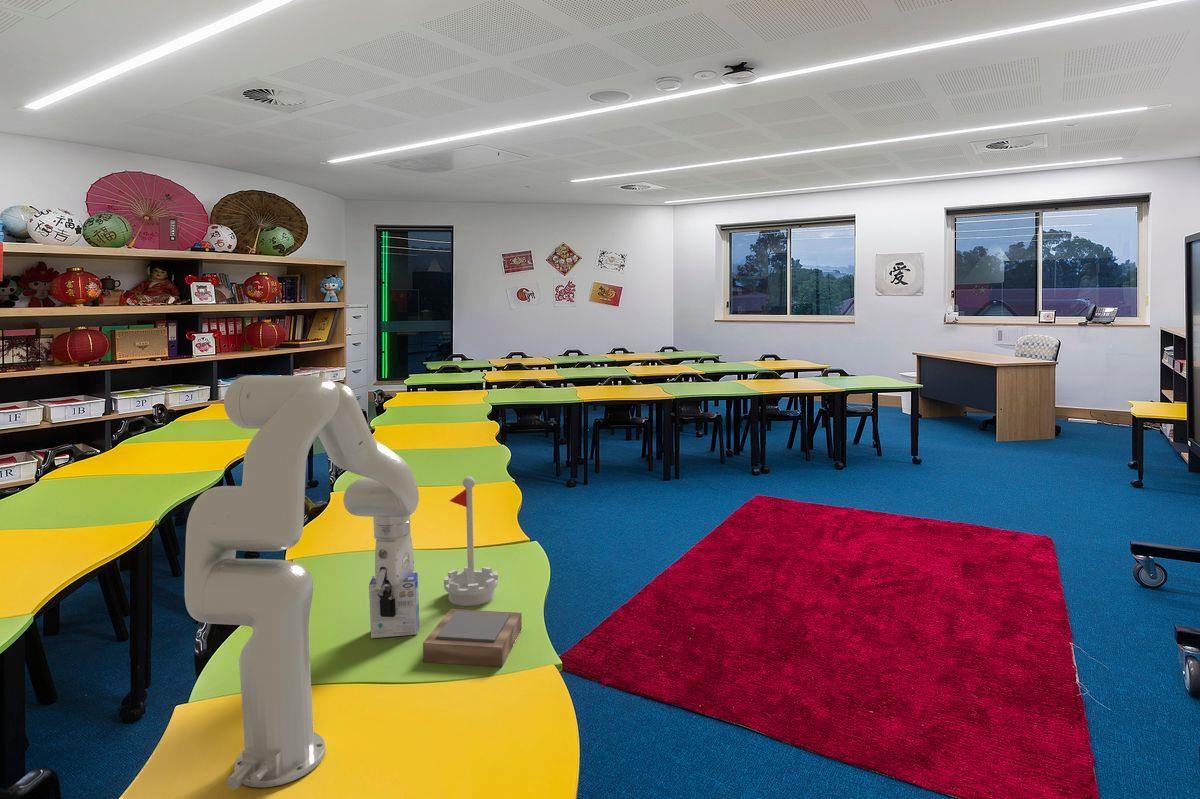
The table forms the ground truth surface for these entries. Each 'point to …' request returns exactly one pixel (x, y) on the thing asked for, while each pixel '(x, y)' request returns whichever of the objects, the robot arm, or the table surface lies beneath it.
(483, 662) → the walnut plinth
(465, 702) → the table surface
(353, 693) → the table surface
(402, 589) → the ink cartridge box
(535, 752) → the table surface
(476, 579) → the flag stand
